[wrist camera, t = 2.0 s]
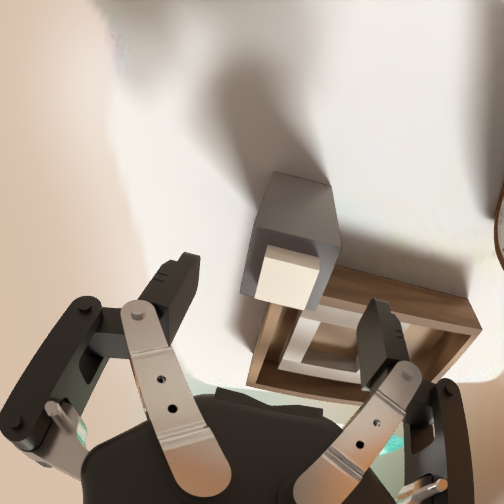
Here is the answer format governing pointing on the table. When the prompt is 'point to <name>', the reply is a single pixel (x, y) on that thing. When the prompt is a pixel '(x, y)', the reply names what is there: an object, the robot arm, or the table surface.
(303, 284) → the connector
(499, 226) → the tin
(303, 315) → the box
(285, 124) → the table surface
